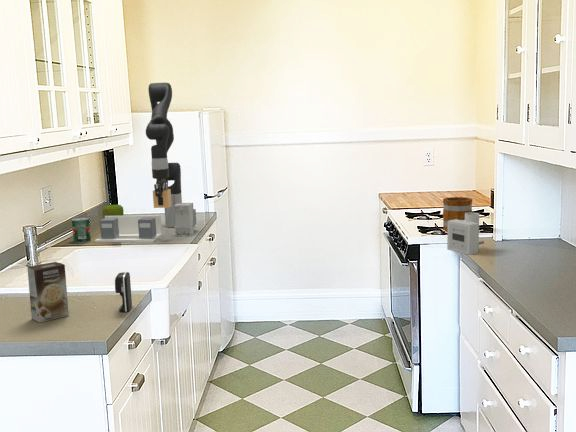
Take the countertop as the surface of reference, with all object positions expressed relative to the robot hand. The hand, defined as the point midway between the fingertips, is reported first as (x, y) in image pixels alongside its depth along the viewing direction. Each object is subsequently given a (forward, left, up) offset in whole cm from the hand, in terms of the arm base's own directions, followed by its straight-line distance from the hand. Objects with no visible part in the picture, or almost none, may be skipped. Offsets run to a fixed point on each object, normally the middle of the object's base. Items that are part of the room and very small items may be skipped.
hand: (162, 204), depth 298 cm
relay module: (0, 0, -1) cm, 1 cm away
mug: (-21, +137, -18) cm, 140 cm away
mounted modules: (-2, -18, -16) cm, 24 cm away
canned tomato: (+1, -40, -17) cm, 44 cm away
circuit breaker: (-17, +6, -18) cm, 25 cm away
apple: (-47, -43, -18) cm, 66 cm away
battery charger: (+102, +18, -17) cm, 105 cm away
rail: (-2, -19, -17) cm, 26 cm away
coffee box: (+110, -2, -18) cm, 111 cm away
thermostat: (+23, +136, -18) cm, 139 cm away
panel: (-4, -19, -17) cm, 26 cm away
